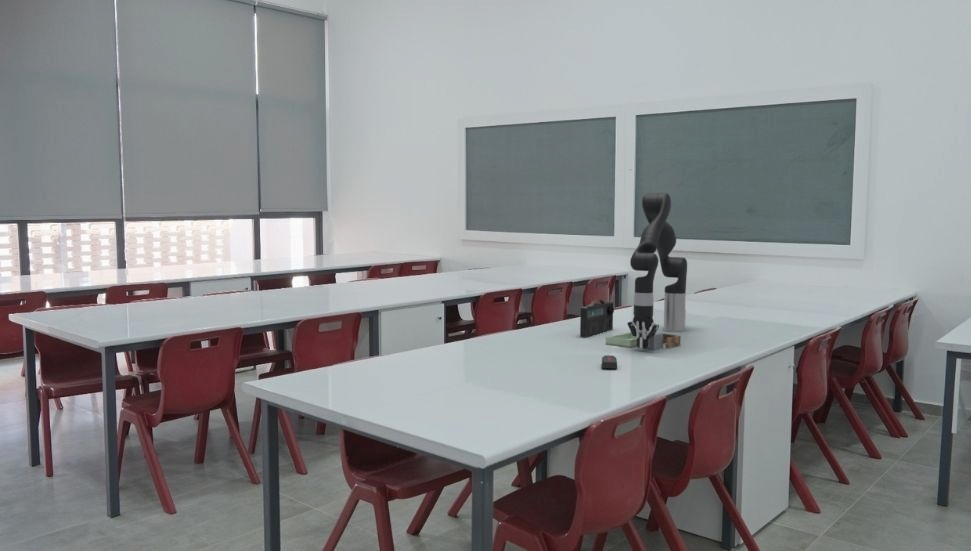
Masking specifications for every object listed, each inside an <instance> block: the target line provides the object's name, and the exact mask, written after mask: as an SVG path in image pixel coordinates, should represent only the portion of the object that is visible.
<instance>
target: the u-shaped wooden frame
mask: <svg viewBox="0 0 971 551" xmlns="http://www.w3.org/2000/svg"><path fill="white" fill-rule="evenodd" d="M681 340H682V338H681V335H678V334H668V333H663V343H666V344H665V349H667V348H668V349H672V348H671V347H673V348H675V347H674V346H677V347H679V346H678V345H680V346H681V343H682V342H681Z"/></svg>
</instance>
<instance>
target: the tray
mask: <svg viewBox="0 0 971 551" xmlns="http://www.w3.org/2000/svg"><path fill="white" fill-rule="evenodd" d="M642 337H643V333H642ZM605 345H608V346H616V347H622V348H629V349H630V348H635V347H638V346H637V338H636V337H635V336H633V335H632V333H631V331H630V332H629V331H628V332H625V333H620V334H614V335H610V336H605Z"/></svg>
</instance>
